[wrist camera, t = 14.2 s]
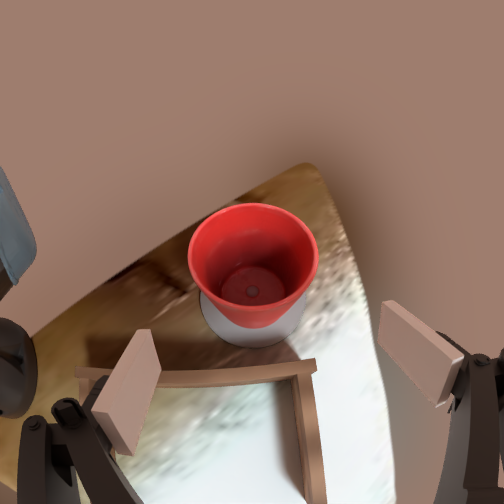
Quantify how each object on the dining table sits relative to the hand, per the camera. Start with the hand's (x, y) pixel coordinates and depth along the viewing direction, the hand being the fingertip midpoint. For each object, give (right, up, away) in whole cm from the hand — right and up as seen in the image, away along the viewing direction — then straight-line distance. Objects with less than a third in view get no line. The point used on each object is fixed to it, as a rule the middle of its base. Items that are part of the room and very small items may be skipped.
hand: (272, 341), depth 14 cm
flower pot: (-1, 0, +17) cm, 17 cm away
